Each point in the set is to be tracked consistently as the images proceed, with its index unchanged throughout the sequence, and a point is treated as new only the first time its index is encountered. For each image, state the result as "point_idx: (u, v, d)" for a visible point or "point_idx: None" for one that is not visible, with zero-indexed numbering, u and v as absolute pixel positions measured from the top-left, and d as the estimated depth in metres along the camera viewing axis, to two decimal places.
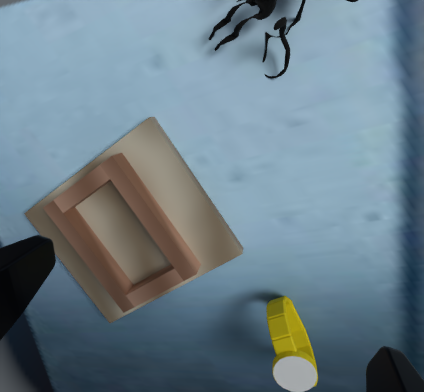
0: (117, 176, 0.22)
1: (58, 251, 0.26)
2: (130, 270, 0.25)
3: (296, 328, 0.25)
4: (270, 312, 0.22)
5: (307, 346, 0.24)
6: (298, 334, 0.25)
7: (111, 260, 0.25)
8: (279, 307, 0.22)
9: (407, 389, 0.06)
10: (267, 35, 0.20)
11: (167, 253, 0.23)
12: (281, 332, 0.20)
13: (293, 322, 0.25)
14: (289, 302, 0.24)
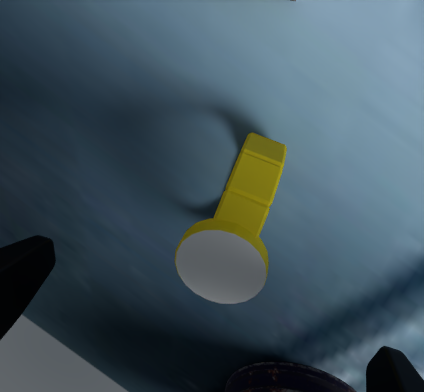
0: None
1: None
2: None
3: None
4: (254, 145, 0.10)
5: None
6: None
7: None
8: (275, 150, 0.10)
9: (407, 389, 0.06)
10: None
11: None
12: (255, 189, 0.09)
13: None
14: None
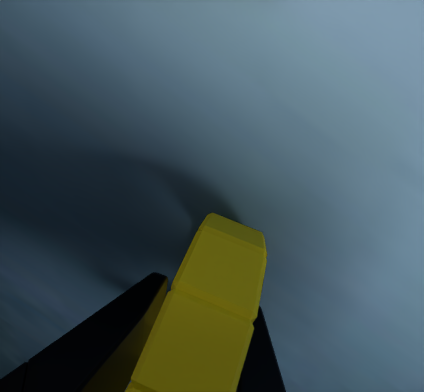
0: None
1: None
2: None
3: None
4: (201, 265, 0.05)
5: None
6: None
7: None
8: (243, 272, 0.05)
9: None
10: None
11: None
12: (193, 387, 0.04)
13: None
14: None
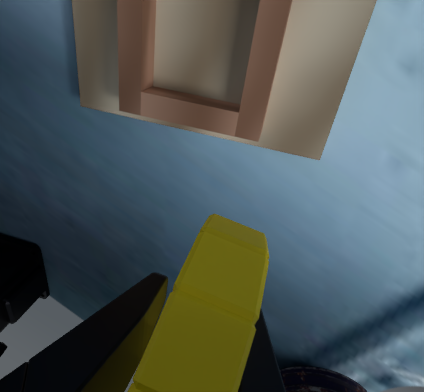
0: None
1: None
2: (165, 64, 0.16)
3: None
4: (203, 267, 0.05)
5: None
6: None
7: (152, 27, 0.15)
8: (245, 273, 0.05)
9: None
10: None
11: (249, 86, 0.14)
12: (194, 388, 0.04)
13: None
14: None
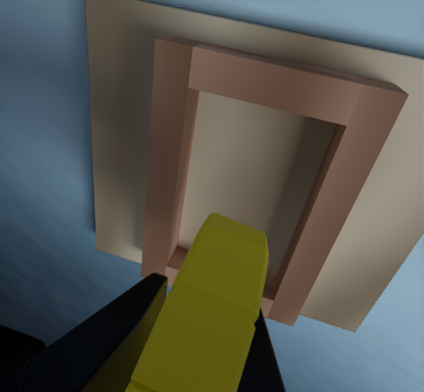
0: (365, 136, 0.09)
1: (99, 112, 0.13)
2: (192, 230, 0.15)
3: None
4: (203, 265, 0.05)
5: None
6: None
7: (181, 203, 0.14)
8: (245, 272, 0.05)
9: None
10: None
11: (287, 282, 0.13)
12: (193, 387, 0.04)
13: None
14: None
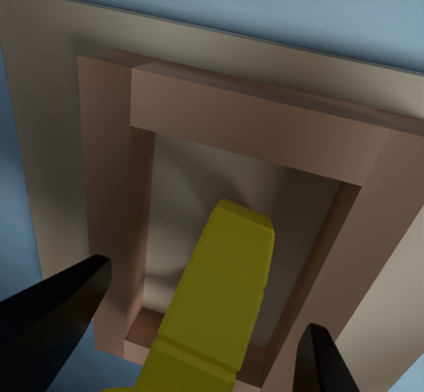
0: (389, 201, 0.06)
1: (30, 147, 0.10)
2: (159, 291, 0.12)
3: None
4: (217, 240, 0.06)
5: None
6: None
7: (142, 262, 0.10)
8: (254, 247, 0.06)
9: (319, 360, 0.06)
10: None
11: (279, 371, 0.10)
12: (211, 341, 0.05)
13: None
14: None
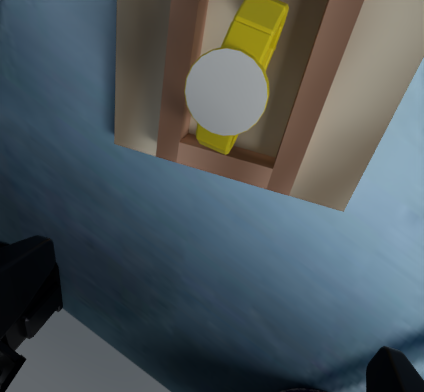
0: None
1: None
2: None
3: None
4: None
5: None
6: None
7: None
8: (279, 1, 0.11)
9: (407, 389, 0.06)
10: None
11: (285, 147, 0.15)
12: (260, 21, 0.10)
13: None
14: (275, 41, 0.13)
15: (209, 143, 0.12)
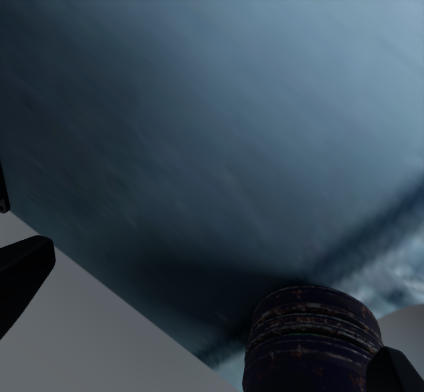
0: None
1: None
2: None
3: None
4: None
5: None
6: None
7: None
8: None
9: (407, 389, 0.06)
10: None
11: None
12: None
13: None
14: None
15: None
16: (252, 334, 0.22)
